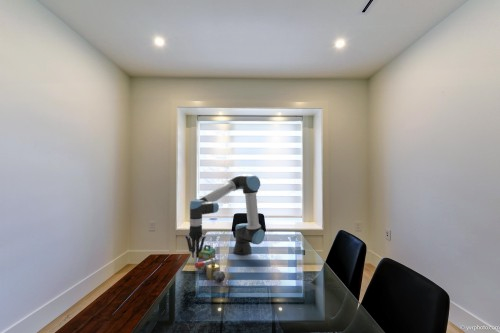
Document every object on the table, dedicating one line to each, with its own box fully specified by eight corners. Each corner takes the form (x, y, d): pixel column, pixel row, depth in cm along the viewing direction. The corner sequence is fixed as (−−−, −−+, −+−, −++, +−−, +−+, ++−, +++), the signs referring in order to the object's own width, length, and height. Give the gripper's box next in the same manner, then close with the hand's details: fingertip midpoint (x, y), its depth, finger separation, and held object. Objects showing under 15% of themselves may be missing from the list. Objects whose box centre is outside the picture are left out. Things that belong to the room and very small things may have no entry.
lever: (214, 261, 143) (214, 257, 143) (217, 263, 140) (217, 259, 140) (194, 267, 135) (194, 262, 135) (196, 269, 132) (196, 264, 132)
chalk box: (197, 268, 152) (197, 247, 153) (203, 263, 161) (203, 243, 161) (209, 270, 150) (209, 248, 150) (215, 265, 159) (215, 244, 159)
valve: (201, 273, 146) (201, 260, 146) (210, 270, 150) (210, 257, 150) (215, 284, 132) (216, 269, 132) (225, 281, 136) (225, 266, 136)
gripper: (183, 226, 136) (183, 264, 136) (204, 226, 135) (203, 265, 135) (188, 223, 144) (187, 259, 144) (207, 223, 143) (207, 260, 142)
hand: (195, 262), depth 139 cm, fingers closed
